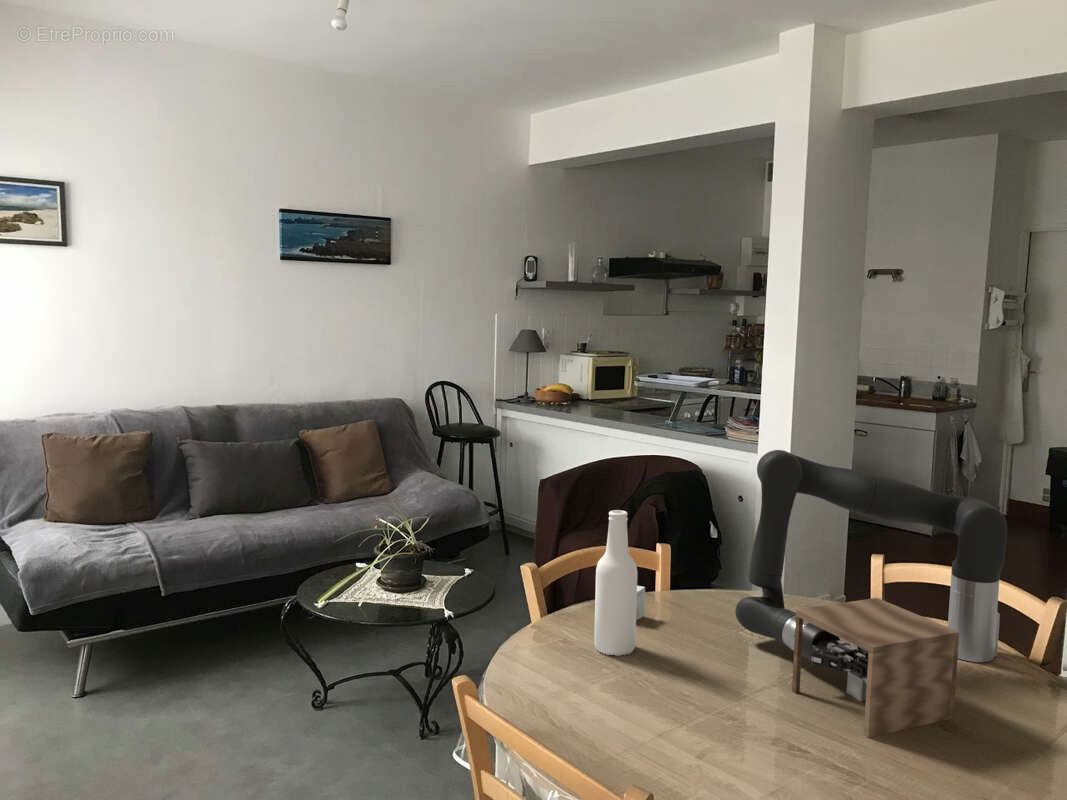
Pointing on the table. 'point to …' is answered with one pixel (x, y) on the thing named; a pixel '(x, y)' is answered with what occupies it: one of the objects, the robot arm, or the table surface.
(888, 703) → the open side box
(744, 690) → the table surface
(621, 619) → the alcohol
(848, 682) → the lighter
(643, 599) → the product box
